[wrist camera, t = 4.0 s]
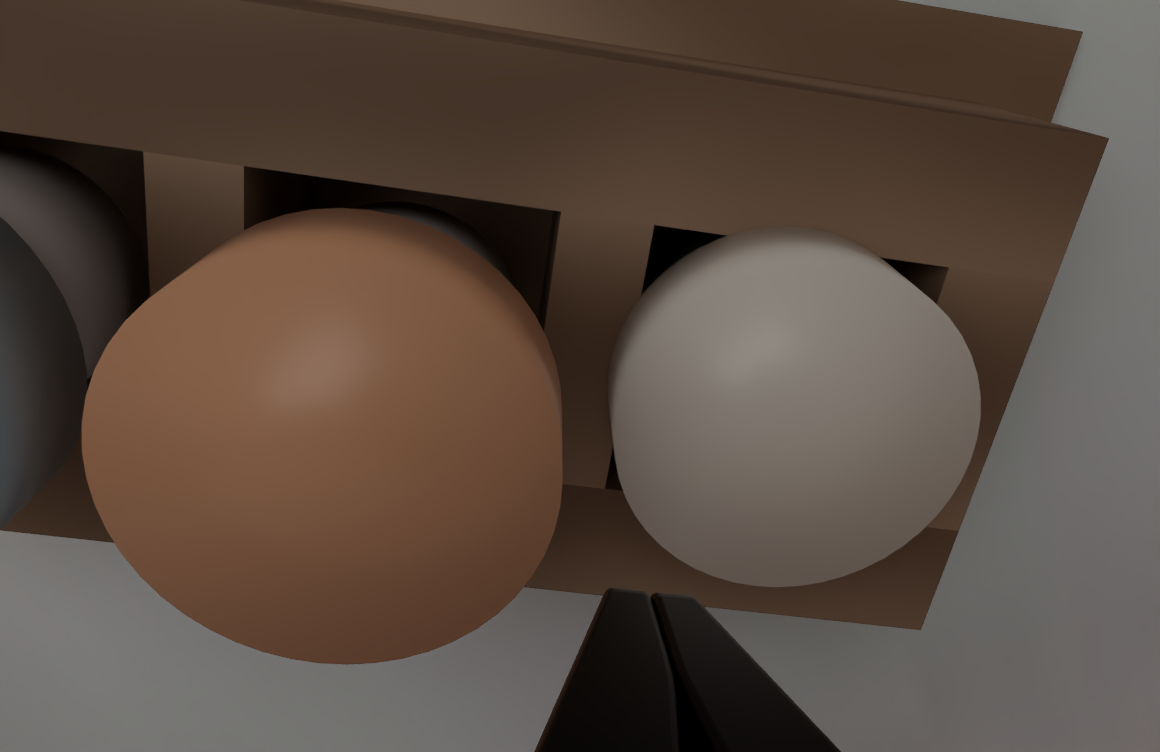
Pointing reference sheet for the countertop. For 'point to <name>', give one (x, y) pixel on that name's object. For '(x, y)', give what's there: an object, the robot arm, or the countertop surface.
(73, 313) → the knob
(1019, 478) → the countertop surface
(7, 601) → the countertop surface
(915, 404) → the knob
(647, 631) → the robot arm
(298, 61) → the mount
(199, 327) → the knob mid
